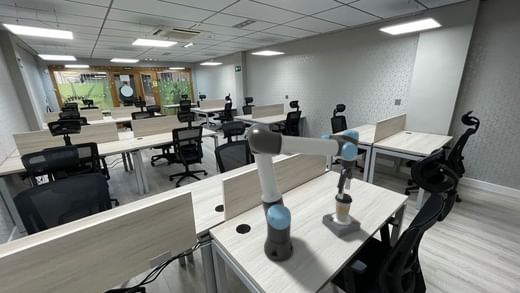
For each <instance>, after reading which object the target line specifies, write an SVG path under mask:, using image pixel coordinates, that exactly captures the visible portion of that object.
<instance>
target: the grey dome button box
mask: <svg viewBox="0 0 520 293" xmlns="http://www.w3.org/2000/svg"><path fill="white" fill-rule="evenodd" d="M321 224H322V225H323V226H325V227H326V228H327V229H328V230H329V231H330V232H332V234H334V235H335V236H336V237H337V238H341V237H345V236H347V235H350V234H353V233H356V232H359V231H361V224H362V223H361V222H360V221H359V220H358V219H356V218H355V217H354V216H352V215H351V214H348V217H347V220H346V221H345V222H342V221H339V220H337V218H336V211H335V212H333V213H332V212H331V213H327V214H324V215H322V222H321Z"/></svg>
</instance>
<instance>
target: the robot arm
mask: <svg viewBox="0 0 520 293" xmlns="http://www.w3.org/2000/svg"><path fill="white" fill-rule="evenodd" d="M246 138H247V140H248V145H249V149H250V154H252V155H253V156H254V158H255V159H254V160H255V163H256V166H257V172H258V177H259V182H260V185H261V190H262V191H261V192H262V195H261V196H260V198H261V202H262V203H261V204H262V209H263V212H264V216H265V221H266V226H267V236H266V239H265V241H264V245H263V252H264V254H265V256H266V257H267V258H268V259H269V260H272V261H274V262H285V261H288V260H290V258H292V256H293V253H294V245H293V242H292V239H291V228H292V227H291V222H292V214H291V211H290V209H289V208H288V206H285V203H284V199H283V198H284V197H283V194H282V192H281V191H280V190H279V188H278V181H277V177H276V176H277V175H276V172H275V166H274V161H273V155H278V156H279V155H281V154H282V153H284V154H296V155H297V154H298V155H312V156H328V157H338V158H339V157H340V162H339V164H340V166H342V167H343V168H342V169H341V170H340V175H339V178H338V183H337V185H336V187H337V194H338V196H337V198H340V199H343V193H345V192H344V191H345V189H346V190H348V191H349V190H350V189H351V182H352V180H354V179H353V178H354V177H353V168H355V166H356V158H357V157H358V151H359V150H358V148H359V146H358V144H359V139H360V133H359V131H357V130H354V129H345V130H344V131H343V134H324V135H322V136H321V138H314V137H302V136H291V135H283V134H282V132H275V131H271V130H270V129H269V127H267V125H266V124H263V123H254V124H252V125H250V127H249V128H248V130H247V132H246Z"/></svg>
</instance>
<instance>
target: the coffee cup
mask: <svg viewBox="0 0 520 293" xmlns="http://www.w3.org/2000/svg"><path fill="white" fill-rule="evenodd" d="M337 196H338V193H337V194H336V195H335V196H334V199H335V212H336V218H337V220H339V221H342V222H345V221H346V220H347V217H348V214H349V213H350V210H351V204H352V202H353V198H352V196H351V195H350V194H348V193H345V192H344V193H343V199H340V198H337ZM349 215H350V214H349Z"/></svg>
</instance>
